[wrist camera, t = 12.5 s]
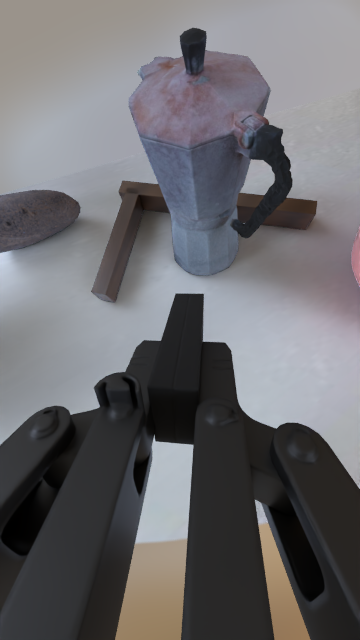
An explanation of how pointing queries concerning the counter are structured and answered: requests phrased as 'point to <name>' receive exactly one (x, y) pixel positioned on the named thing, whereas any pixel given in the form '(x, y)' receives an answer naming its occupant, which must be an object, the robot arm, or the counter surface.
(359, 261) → the cell model
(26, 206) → the perforated stone tool
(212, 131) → the moka pot
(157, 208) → the corner guide
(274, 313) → the counter surface
